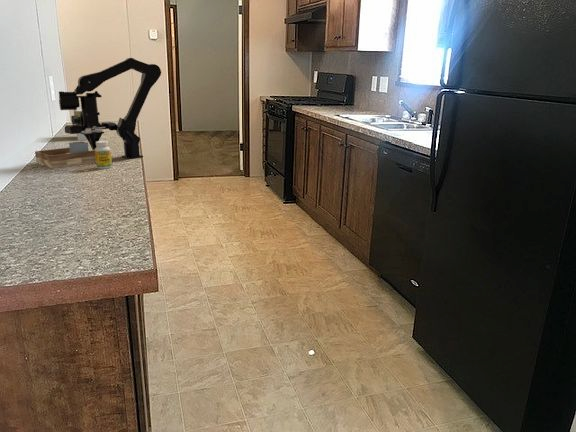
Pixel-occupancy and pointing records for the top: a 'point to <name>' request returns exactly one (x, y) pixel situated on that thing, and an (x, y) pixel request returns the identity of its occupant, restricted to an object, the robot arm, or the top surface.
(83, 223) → the top surface
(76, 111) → the tea box
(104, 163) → the supplement bottle
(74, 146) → the block
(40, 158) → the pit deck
